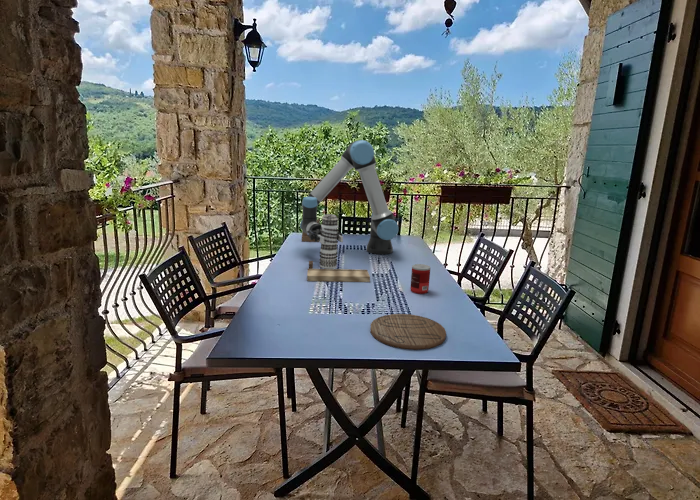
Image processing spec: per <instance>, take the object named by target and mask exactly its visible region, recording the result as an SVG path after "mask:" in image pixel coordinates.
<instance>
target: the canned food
mask: <svg viewBox="0 0 700 500" xmlns="http://www.w3.org/2000/svg"><path fill="white" fill-rule="evenodd" d="M430 277H431V266H430V265H428V264H422V263H417V264H413V265H411V275H410V278H411V279H410V287H409V288H410V291H411V293H413V294H417V295H424V294H427V293H428V292H429V289H430V287H429V286H430Z"/></svg>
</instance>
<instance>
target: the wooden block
mask: <svg viewBox="0 0 700 500" xmlns="http://www.w3.org/2000/svg"><path fill="white" fill-rule="evenodd" d="M302 219H303V212H302ZM320 221H321V219H320V218H318V219H317V223H318V224H320V225H321V222H320ZM301 231H302V230H301ZM301 242H305V243H306V242H308V243H309V242H311V243H319V241H318V240H317V242H315V239H313V240H311V239H310V238H309V237H308V236H307V233H305V232H303V231H302V232H301Z"/></svg>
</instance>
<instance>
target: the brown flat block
mask: <svg viewBox="0 0 700 500" xmlns="http://www.w3.org/2000/svg"><path fill="white" fill-rule="evenodd" d="M308 269H314V261H313V260H308Z"/></svg>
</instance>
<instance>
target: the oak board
mask: <svg viewBox="0 0 700 500" xmlns="http://www.w3.org/2000/svg"><path fill="white" fill-rule="evenodd" d="M306 275H307V276H306V281H307V282H338V283H339V282H341V283H342V282H343V283H346V282H347V283H348V282H349V283H371V282H370V281H371V276H370V273H369V271H368V269H352V268H351V269H349V268H346V269H344V268H342V269H341V268H333V269H325V268H313V269H309V268H307V273H306Z"/></svg>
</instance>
